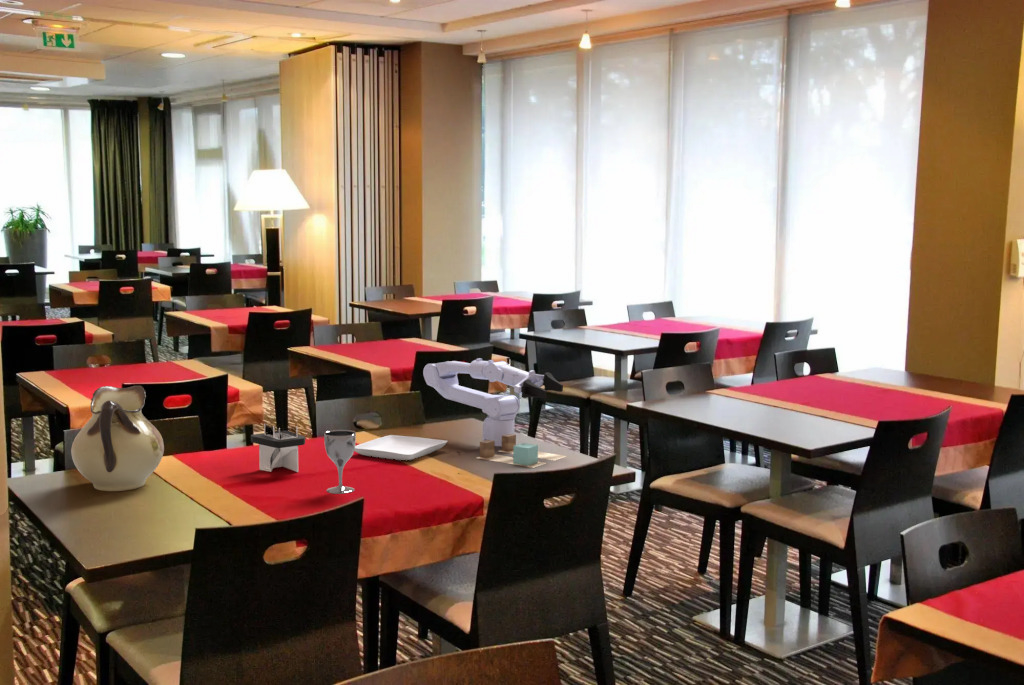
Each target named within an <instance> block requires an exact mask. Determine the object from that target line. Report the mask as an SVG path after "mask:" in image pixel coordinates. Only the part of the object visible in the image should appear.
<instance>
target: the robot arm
mask: <svg viewBox="0 0 1024 685" xmlns="http://www.w3.org/2000/svg"><path fill="white" fill-rule="evenodd" d="M422 373H423V374H422V375H423V378H424V381H425V383H426V385H427V386H429V387H431V388H433V389H435V391H437V393H438V394H439V395H440V396H442V397H443V398H444V399H446V400H450V401H452V402H453V401H454V402H457V403H459V404H460V403H461V404H464V405H467V406H470V407H475V408H477V409H481V411H482V413H483V414H486V415H487V417H486V418H484V420H483V423H482V441H485V440H494V441H495V447H502V436H503V435H506V434H515V418H517V414H518V413H519V411H520V407H521V405H520V400H519V398H518V397H517V396H516V395H514V394H508V395H503V394H491V393H488V392H484V391H482V390H477V389H472V388H470V387H466V386H463V385H462V386H461V385H459V384H460V383H459V379H458V374H469V375H470V377H471V378H472V379H479V380H486V381H487V380H488V381H489V382H490V383H494V382H495V383H496V382H499V383H502V384H504V385H507V386H509V387H512V388H513V392H514V393H517V394H521V398H523V399H526V398H539V399H545V398H547V391H553V392H558V393H562V392H563V391H564V385H563V384H562V383H561V382H560V381H558V380H557V379H556V378H554V376H553V374H552V373H551V372H545V373H544V374H538V373H536V371H535V370H534V369H533V370H532V369H531V370H529V371H526V370H523V369H520V368H517V367H514V366H511V365H509V363H508V362H506V361H504V360H500V361H494V359H488V360H483V358H480V357H479V358H476V359H474V360H472V361H471V362H470V363H469V362H464V361H457V360H452V361H449V360H447V361H443V362H437V363H435V362H434V363H427V364H426V365H425V366H424V368H423V371H422ZM541 386H544V388H542V387H541Z"/></svg>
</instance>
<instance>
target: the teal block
mask: <svg viewBox="0 0 1024 685" xmlns="http://www.w3.org/2000/svg"><path fill="white" fill-rule="evenodd" d="M538 452H539V445H538V444H532V443H525V442H523V443H519V444H516V445H515V446H513V454H512V456H513V463H515V464H521V465H527V466H529V465H532V464H535V463H538V462H539V458H538Z"/></svg>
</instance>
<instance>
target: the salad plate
mask: <svg viewBox="0 0 1024 685" xmlns="http://www.w3.org/2000/svg"><path fill="white" fill-rule="evenodd" d="M447 443H448V440H443V439H435V438H427V437H418V436H408V435H406V436H405V435H397V434H396V435H394V434H389V435H385V436H383V437H382V436H381V437H378V438H374V439H371V440H369V441H365V442H363V443H360V444H357V445H356V444H355V449H354V453H357V454H359V455H362V456H365V457H366V456H367V457H371V456H372V457H371V458H378V457H379V458H380V459H385V458H386V459H387V460H393V459H395V460H394V461H401V460H406V461H407V460H409V461H413V460H416V459H419V458H421V456H422V457H425V456H427V455H430V454H432V453H434V452H436V451H438V450H440V449H442V448H443V447H444V446H446V445H447ZM424 455H425V456H424ZM418 457H419V458H418ZM415 458H416V459H415ZM386 459H385V460H386ZM406 461H405V462H406Z"/></svg>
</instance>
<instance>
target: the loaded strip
mask: <svg viewBox="0 0 1024 685" xmlns="http://www.w3.org/2000/svg"><path fill="white" fill-rule="evenodd" d="M495 447H496V446H495V441H494V440H485V441H483V440H482V441H479V456H478V457H476V459H479V460H485V461H491V462H498V463H503V464H510V465H515V466H521V467H528V468H533V469H535V468H537V467H540V466H543V465H546V464H547V462H545V461H544V462H543V461H538V463H535V464H532V465H529V466H527V465H521V464H515V463H513V457H512V456H506V455H501V454H495V449H496V448H495Z"/></svg>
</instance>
